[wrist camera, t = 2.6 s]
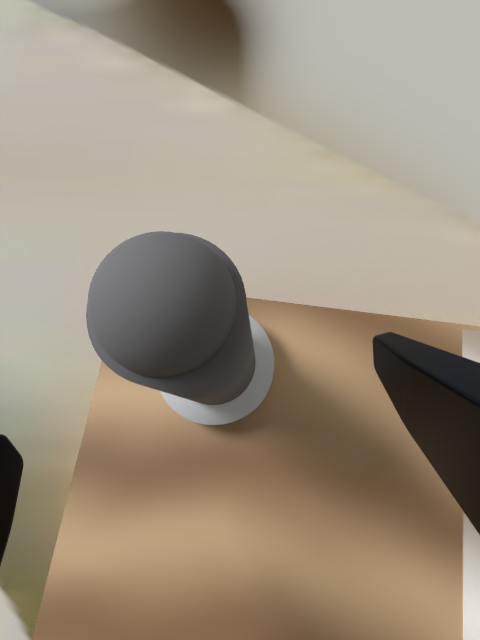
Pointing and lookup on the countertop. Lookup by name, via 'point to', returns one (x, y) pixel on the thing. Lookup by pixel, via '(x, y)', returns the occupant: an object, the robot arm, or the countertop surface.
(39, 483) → the countertop surface
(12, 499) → the robot arm
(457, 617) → the board
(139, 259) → the grey domed cylinder
